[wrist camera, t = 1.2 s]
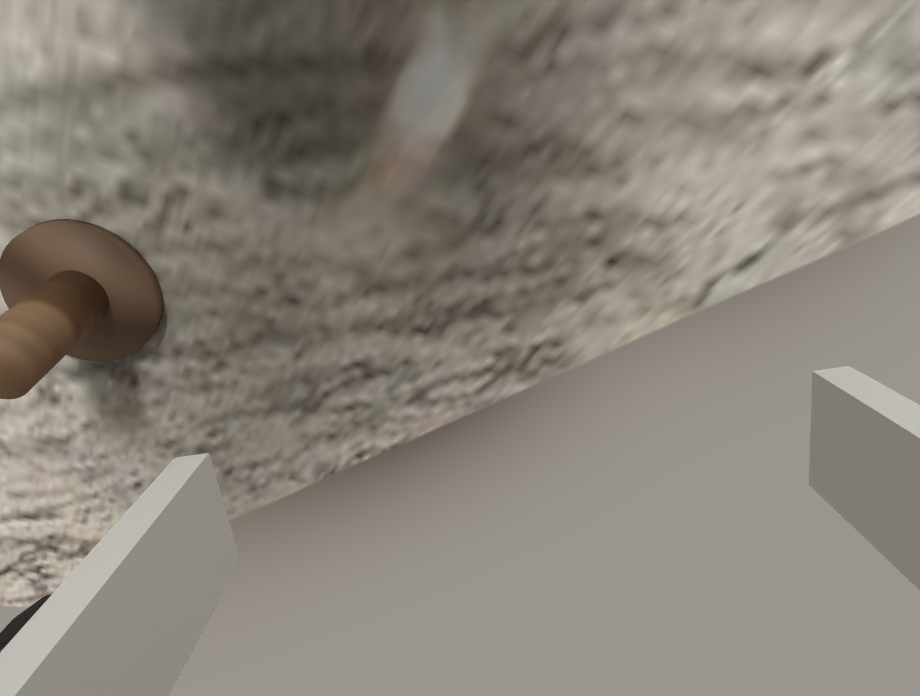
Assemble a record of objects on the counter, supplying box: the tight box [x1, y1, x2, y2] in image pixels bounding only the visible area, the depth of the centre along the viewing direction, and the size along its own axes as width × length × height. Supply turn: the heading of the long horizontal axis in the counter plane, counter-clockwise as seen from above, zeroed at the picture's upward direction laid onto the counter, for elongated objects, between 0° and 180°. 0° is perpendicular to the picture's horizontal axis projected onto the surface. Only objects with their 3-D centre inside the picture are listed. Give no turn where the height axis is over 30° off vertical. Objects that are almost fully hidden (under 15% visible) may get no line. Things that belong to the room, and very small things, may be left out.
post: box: [0, 219, 163, 399], centre depth 34 cm, size 9×9×9 cm
